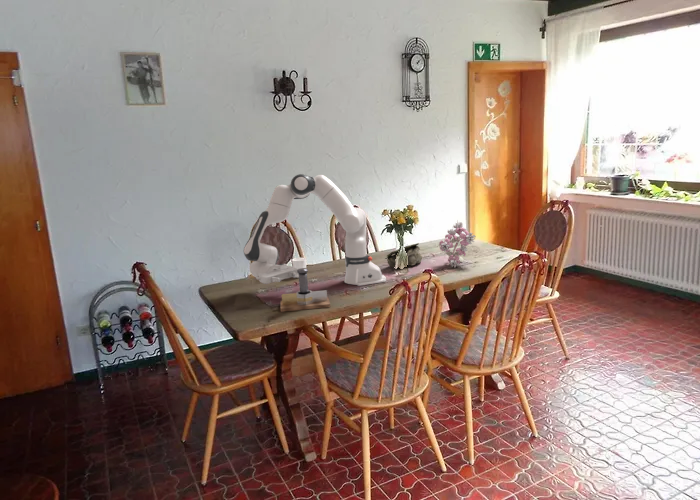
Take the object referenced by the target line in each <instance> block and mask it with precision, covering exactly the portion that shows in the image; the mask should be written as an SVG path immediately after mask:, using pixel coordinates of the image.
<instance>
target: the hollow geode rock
mask: <svg viewBox="0 0 700 500" xmlns="http://www.w3.org/2000/svg"><path fill="white" fill-rule="evenodd" d="M419 244H420V243H419V242H417V243H415V244H411V245H406V246H403V247H404V248H405V251H406V253H407V256H408V266H415V265H416V264H420V263H421V262H422V260H423V255H421V253H420V252H419V251H420V250H421V249H420V247H419ZM398 251H399V249H396V250H394V251H392V252H390V253H388V254H387V255H386V257H385V258H384V260H387V265H388V266H389V267H391V268H392V269H394V270H396V269H395V268H394V267H395V259H396V255H397V253H398Z"/></svg>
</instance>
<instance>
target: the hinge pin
mask: <svg viewBox="0 0 700 500" xmlns="http://www.w3.org/2000/svg"><path fill="white" fill-rule="evenodd" d="M308 272H309V269H308V268H307V267H306V268H300V269H297V273H298V275H299V278H298V284H299V285H298V287H299V291H300V294H304V295H305V294H308V293H309V292H308V290H309V282H308V280H309V279H308Z"/></svg>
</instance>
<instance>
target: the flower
mask: <svg viewBox="0 0 700 500" xmlns="http://www.w3.org/2000/svg"><path fill="white" fill-rule="evenodd" d="M463 226H464V224H463V222H460V221H458V219H457V221H456V222H455V224H453V226H452V228H451V229H447V233H448V234H445V235H444V238H445V239H444V240H443V239H442V240H440V241H439V244H437V246H436V248H439V250H440V251H442V252H445V255H446V256H448V258H447V261H448V263H449V265H450V268H456V267H458V266H459V264H460V263H465V260H464V258H463V257H466V255H467V253H466V252H467V251H468V250H469V249H468V247H467V246H469V245H472V244H473V243H474V242H475V239H476V235H475V234H474V233H473V232H469V231H468V230H467V229H466V228H465V227H463ZM456 234H457V235H458V236H457V235H456ZM454 243H455V246H454ZM459 244H460V247H458V245H459ZM453 247H454V248H453ZM452 248H453V250H452V251H451V249H452ZM462 256H463V257H462Z"/></svg>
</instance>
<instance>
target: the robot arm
mask: <svg viewBox="0 0 700 500" xmlns="http://www.w3.org/2000/svg"><path fill="white" fill-rule="evenodd" d="M310 194H313V195H315V196H317V198H319V200H320V201H321V202H322V203H323V204H324V205H325V206H326V207H327V209H329V210H330V212H331V213H332V214H333V215H334V217H335V219H336V220H337V221H338V222H339V224H340V225H341V227H342V229H343V230H344V231H345V239H344V244H345V245H344V246H345V257H344V263H345V265H344V266H345V276H344V277H345V278H344V281H343V282H344V283H345V284H348V285H354V286H365V285H372V284H380V283H385V282H386V281H387V277H386V276H385V275H384V274H383V273H382V270H381V268H380V267H379V266H378V265H377V264H375V263H373V261H372V260H373V257H372V256H371V255H369V254H367V213H366V212H365V210H364V209H363V208H360V207H354V206H353V204H352V203H351V202H350V201H349V198H348V197H347V195H346V194H345V193H344V192H343V191H342V190H341V189H340V188H339V187H338V186H337V185H336V184H335V183H334V182H333V181H332V180H331V179H330V178H328V177H327V176H326V175H324V174H317V175H315V176H314V177H313V176H309V175H306V174H303V173H302V174H301V173H300V174H296V175H294V176H293V178H292V179H291V180H290V184H287V185H286V184H279V185H277V186H276V187H275V188H274V190H273V192H272V195H271V197H270V200H269V204H268V206H267V208H266V209H265V211H262V212H261V213H260V214H259V216H258V218H257V221H256V222H255V224H254V227H253V229H252V232H251V235H250V236H249V239H248V241H246V244H245V245H244V247H243V255H244V257H245V258H246V260H248V261H252V262H251V263H250V265H249V273H250V274H251V275H252V276H253V277H255V279H256V281H259V282H260V283H261V284H263V285H268V284H271V283H281V282H282V280H283V281H284V280H287V279H290V278H293V279H295V278H296V277H297V275H298V273H297V268H295V267H293V265H292V266H291V265H288V264H287V263H280V264H278V262H279V250H278V249H277V246H276V247H275V246H272V245H270V244H265V243H262V242H261V240H262V237H263V235H264V232H265V230H266V228H267V227H268V226H270V225H272V224H278V223H282V222H284V221H285V220H287V218H288V217H289V214H290V211H291V208H292V207H291V206H292V203H293V201H294V200H303V199H306V198H308V197H309V196H310Z"/></svg>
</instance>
